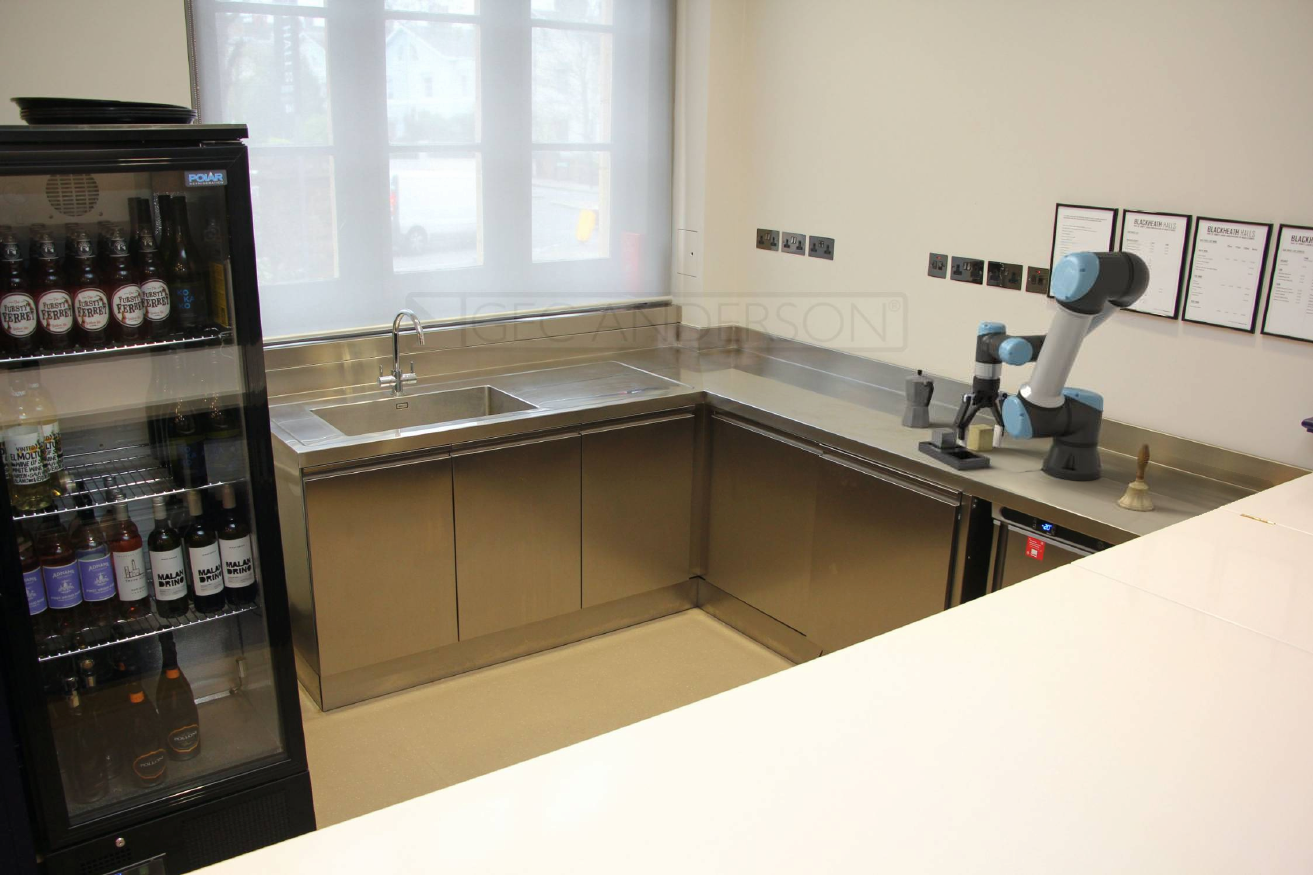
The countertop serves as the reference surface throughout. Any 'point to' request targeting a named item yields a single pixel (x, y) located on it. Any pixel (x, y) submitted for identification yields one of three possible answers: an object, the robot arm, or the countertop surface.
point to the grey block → (943, 438)
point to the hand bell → (1138, 486)
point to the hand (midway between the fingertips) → (979, 448)
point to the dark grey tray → (955, 456)
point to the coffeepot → (917, 400)
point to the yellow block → (980, 437)
